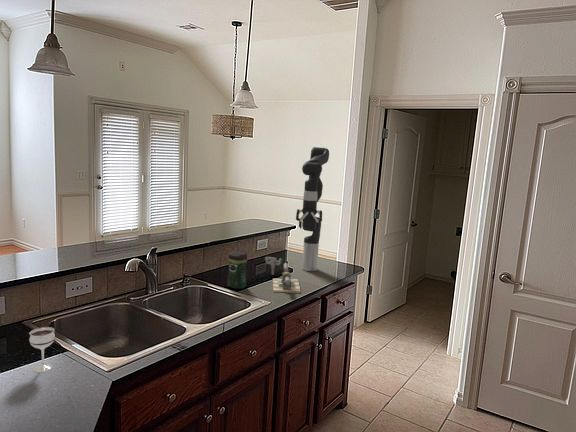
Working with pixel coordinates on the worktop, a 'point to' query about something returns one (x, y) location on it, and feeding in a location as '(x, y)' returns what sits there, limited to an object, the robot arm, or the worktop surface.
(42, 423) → the worktop surface
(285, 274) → the coupling block
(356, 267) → the worktop surface
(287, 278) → the shaft rig
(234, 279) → the coffee jar
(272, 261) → the mechanical component
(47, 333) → the wineglass
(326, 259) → the worktop surface
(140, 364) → the worktop surface
